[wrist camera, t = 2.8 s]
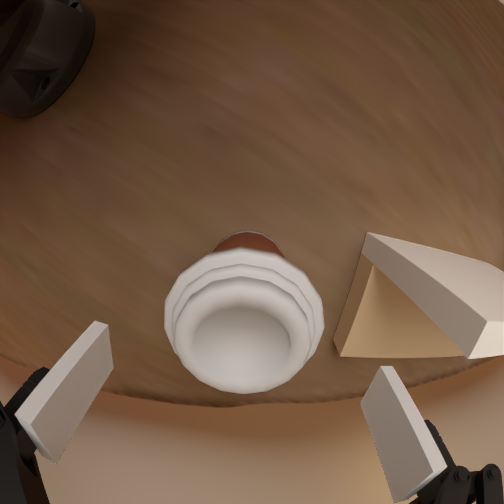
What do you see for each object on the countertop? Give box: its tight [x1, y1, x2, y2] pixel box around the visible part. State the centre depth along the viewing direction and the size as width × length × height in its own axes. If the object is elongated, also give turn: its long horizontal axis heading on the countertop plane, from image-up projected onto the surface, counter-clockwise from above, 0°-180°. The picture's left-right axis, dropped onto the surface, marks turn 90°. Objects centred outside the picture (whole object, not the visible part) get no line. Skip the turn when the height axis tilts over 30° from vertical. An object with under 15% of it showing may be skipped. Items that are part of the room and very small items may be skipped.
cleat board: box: [333, 232, 504, 359], centre depth 18 cm, size 12×19×16 cm, turn 80°
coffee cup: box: [164, 230, 324, 394], centre depth 19 cm, size 9×9×12 cm
